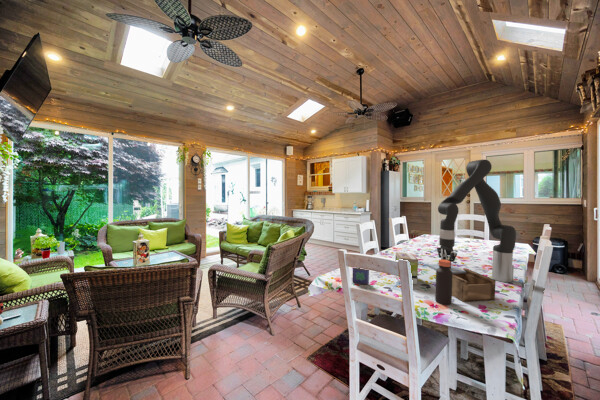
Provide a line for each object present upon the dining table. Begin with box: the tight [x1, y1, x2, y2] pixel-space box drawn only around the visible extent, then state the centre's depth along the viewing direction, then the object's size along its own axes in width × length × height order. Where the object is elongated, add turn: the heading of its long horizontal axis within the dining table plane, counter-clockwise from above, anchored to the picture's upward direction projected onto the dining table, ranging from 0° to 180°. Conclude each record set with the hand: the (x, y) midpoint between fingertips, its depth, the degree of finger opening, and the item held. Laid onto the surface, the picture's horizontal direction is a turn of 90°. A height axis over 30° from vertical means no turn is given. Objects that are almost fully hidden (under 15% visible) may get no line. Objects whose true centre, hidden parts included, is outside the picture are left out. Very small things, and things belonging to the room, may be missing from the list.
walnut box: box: [452, 268, 497, 303], centre depth 129 cm, size 18×17×10 cm
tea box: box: [395, 252, 419, 285], centre depth 148 cm, size 15×10×15 cm
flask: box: [351, 267, 370, 286], centre depth 141 cm, size 9×3×11 cm, turn 68°
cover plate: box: [426, 258, 466, 274], centre depth 143 cm, size 14×14×6 cm
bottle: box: [434, 259, 453, 306], centre depth 118 cm, size 7×7×20 cm
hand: (446, 267), depth 143 cm, fingers closed on cover plate, 3 cm apart
